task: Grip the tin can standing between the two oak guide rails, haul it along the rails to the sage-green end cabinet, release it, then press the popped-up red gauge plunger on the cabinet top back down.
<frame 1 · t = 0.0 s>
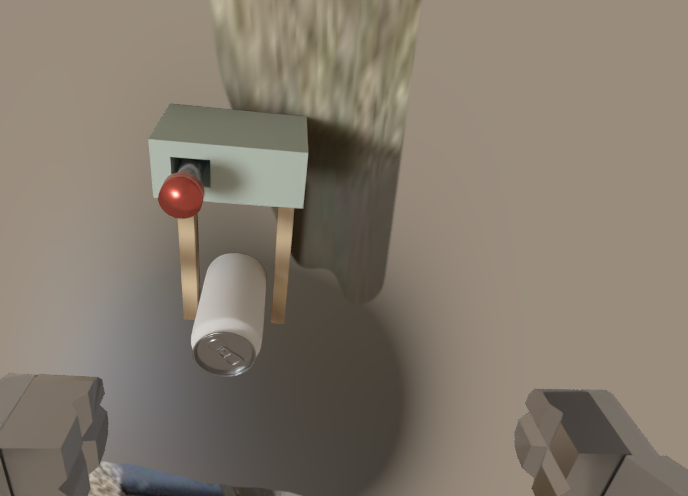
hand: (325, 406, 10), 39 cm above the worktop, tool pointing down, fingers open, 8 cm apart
can: (237, 273, 56), on the worktop
plunger: (189, 176, 39), point 9 cm above the worktop, slide at 0.0 cm
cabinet: (239, 136, 47), on the worktop
rails: (237, 248, 54), on the worktop
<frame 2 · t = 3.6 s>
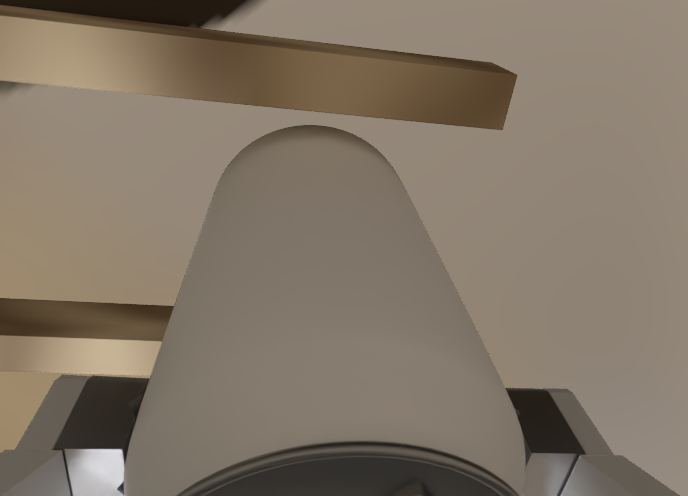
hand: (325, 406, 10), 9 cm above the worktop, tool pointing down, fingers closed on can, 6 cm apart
can: (310, 212, 18), on the worktop, touching gripper
rails: (204, 208, 17), on the worktop
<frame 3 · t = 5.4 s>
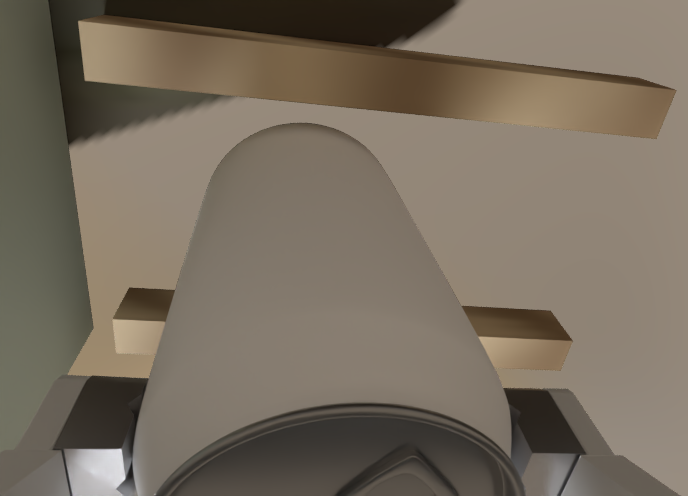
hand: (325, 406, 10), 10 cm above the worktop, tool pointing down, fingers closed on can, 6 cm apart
can: (300, 208, 18), on the worktop, touching gripper
rails: (364, 208, 19), on the worktop
when the fingers open (9 cm above the worktop, at t = 7.2 s): can stays where it is, on the worktop.
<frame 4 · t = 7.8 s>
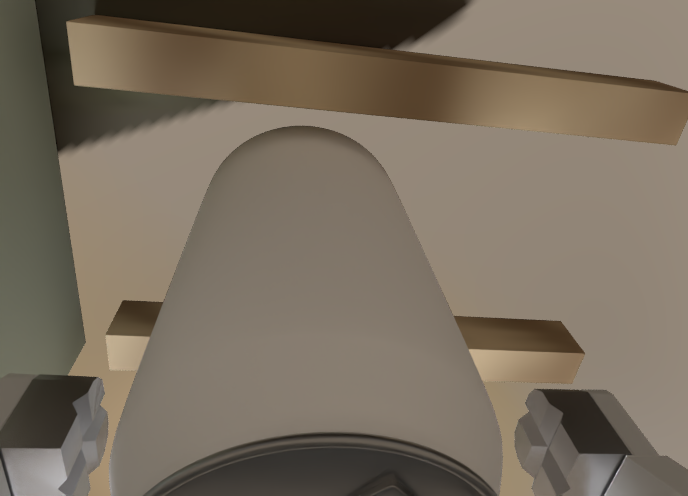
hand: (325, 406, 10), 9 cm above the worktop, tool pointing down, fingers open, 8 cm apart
can: (302, 212, 18), on the worktop
rails: (369, 217, 18), on the worktop
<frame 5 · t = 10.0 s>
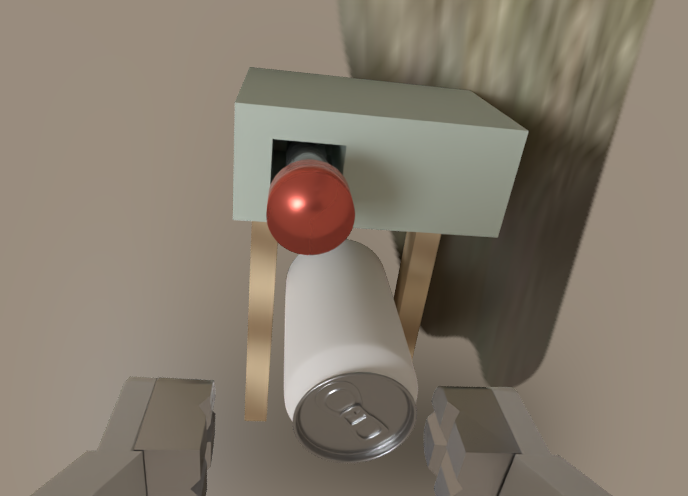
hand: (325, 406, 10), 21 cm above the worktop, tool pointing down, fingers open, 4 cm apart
can: (335, 277, 34), on the worktop
plunger: (307, 176, 21), point 9 cm above the worktop, slide at 0.0 cm
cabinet: (357, 125, 29), on the worktop
rails: (333, 308, 34), on the worktop
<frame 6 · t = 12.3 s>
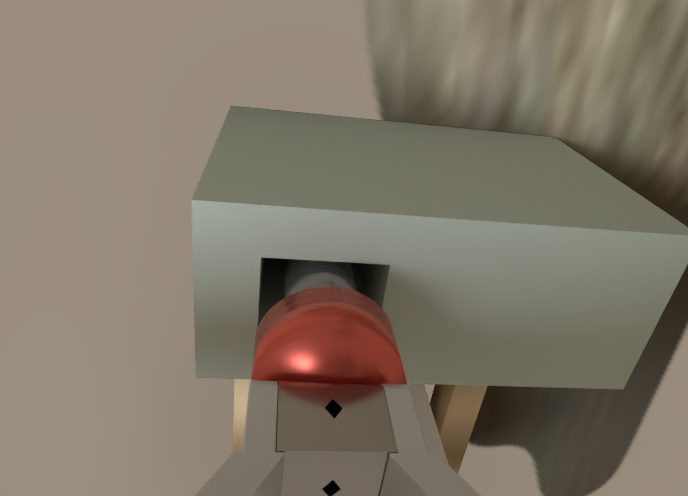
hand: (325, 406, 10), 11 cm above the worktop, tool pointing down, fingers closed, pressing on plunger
can: (352, 379, 25), on the worktop
plunger: (320, 286, 13), point 7 cm above the worktop, slide at 1.5 cm, touching gripper
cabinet: (388, 186, 20), on the worktop
rails: (348, 417, 26), on the worktop
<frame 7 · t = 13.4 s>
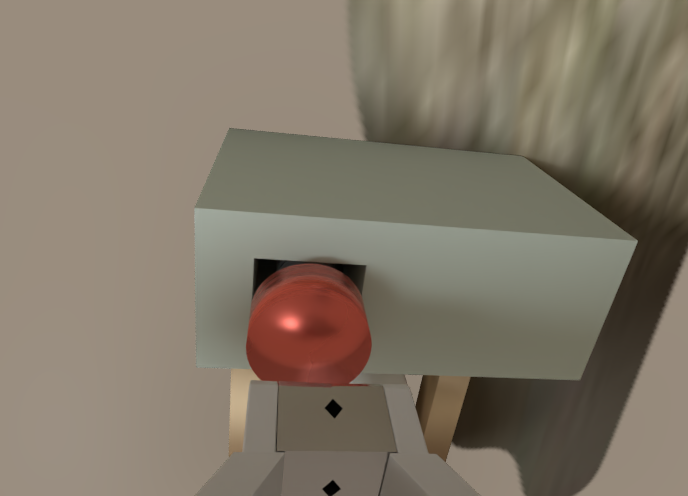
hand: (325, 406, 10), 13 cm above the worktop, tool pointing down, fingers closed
can: (341, 382, 26), on the worktop
plunger: (305, 271, 16), point 6 cm above the worktop, slide at 2.4 cm
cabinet: (372, 200, 22), on the worktop
rails: (338, 419, 27), on the worktop
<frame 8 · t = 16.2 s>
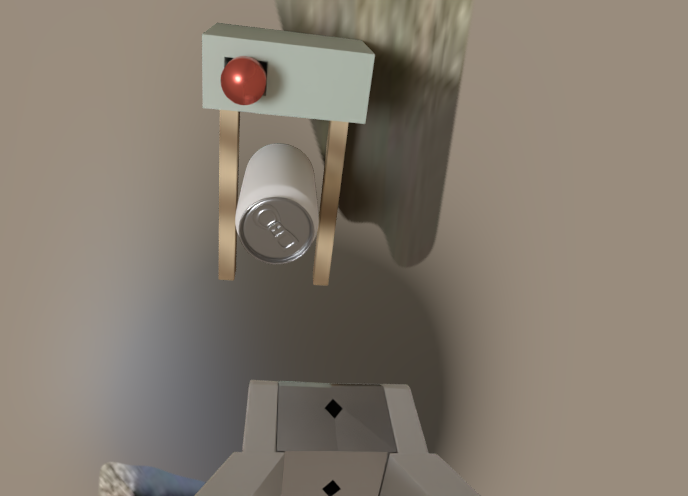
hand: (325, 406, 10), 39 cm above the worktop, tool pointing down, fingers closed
can: (280, 174, 49), on the worktop
plunger: (247, 72, 38), point 6 cm above the worktop, slide at 2.4 cm
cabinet: (288, 63, 44), on the worktop
rails: (279, 197, 50), on the worktop
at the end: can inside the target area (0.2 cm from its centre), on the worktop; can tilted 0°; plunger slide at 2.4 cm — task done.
